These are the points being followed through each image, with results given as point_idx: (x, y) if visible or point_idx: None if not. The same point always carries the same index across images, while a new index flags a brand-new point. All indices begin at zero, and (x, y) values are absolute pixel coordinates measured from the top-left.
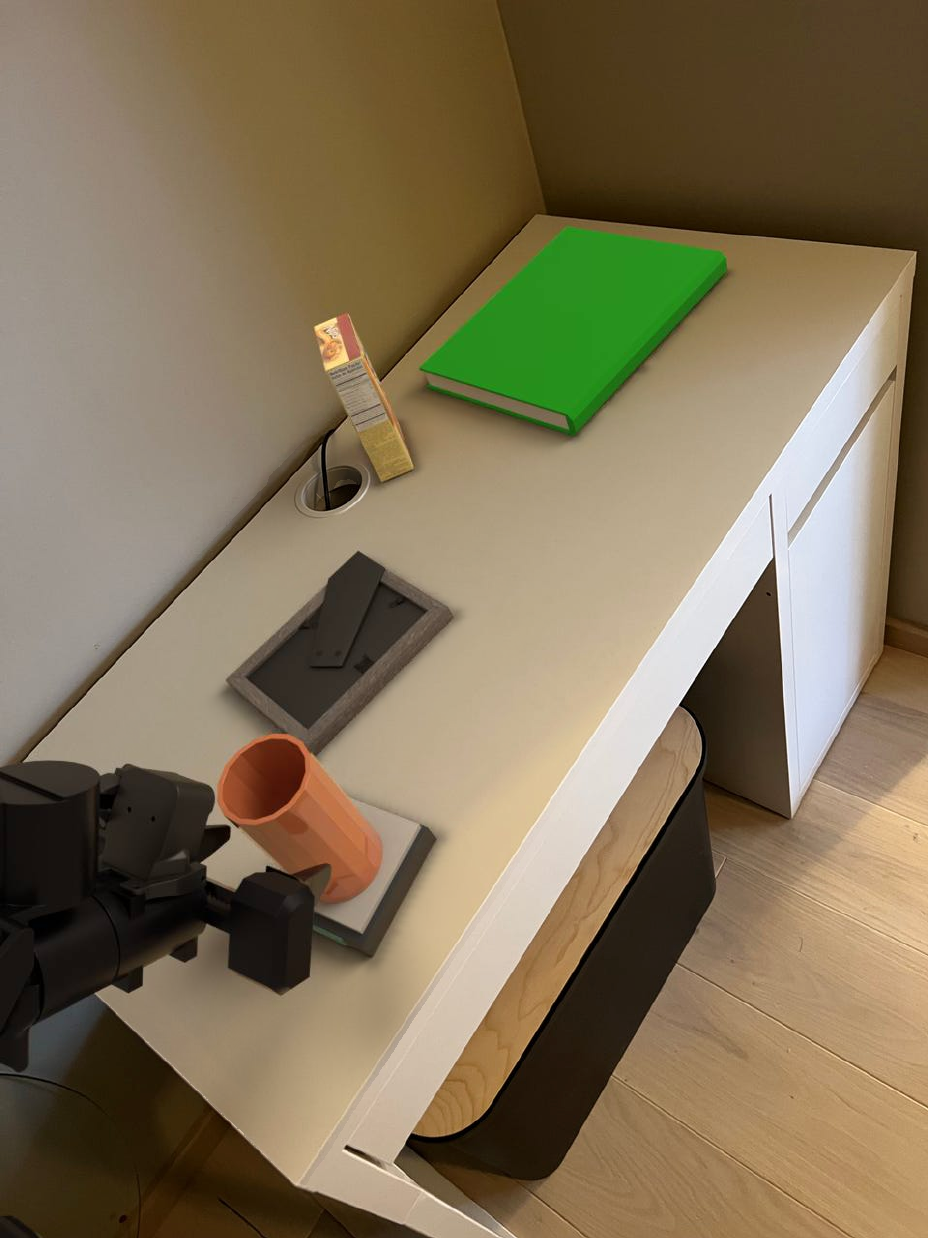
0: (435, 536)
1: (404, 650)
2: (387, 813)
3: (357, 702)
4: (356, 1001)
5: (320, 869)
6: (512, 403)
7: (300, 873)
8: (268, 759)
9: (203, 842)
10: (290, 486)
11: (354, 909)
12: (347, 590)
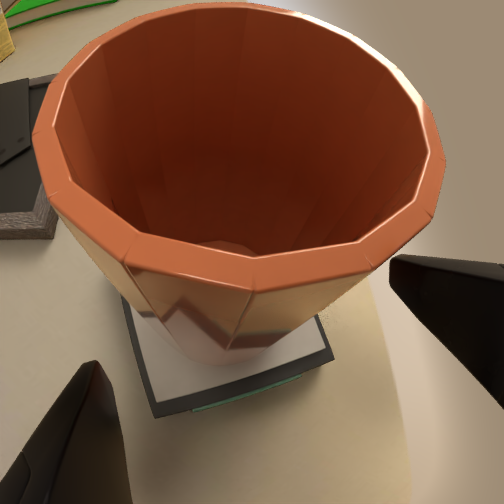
0: (53, 59)
1: None
2: None
3: None
4: (347, 405)
5: (441, 259)
6: (69, 2)
7: (492, 273)
8: (116, 119)
9: (99, 446)
10: None
11: (295, 333)
12: (4, 104)
